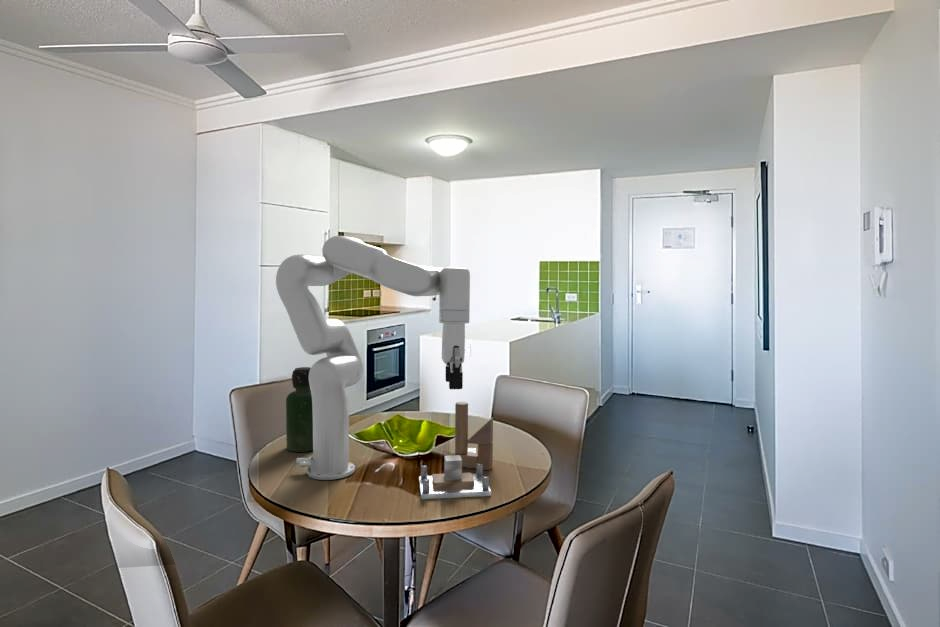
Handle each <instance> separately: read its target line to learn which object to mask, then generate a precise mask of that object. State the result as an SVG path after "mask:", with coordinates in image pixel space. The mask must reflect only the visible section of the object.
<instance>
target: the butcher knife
mask: <svg viewBox="0 0 940 627" xmlns="http://www.w3.org/2000/svg"><path fill="white" fill-rule="evenodd" d="M468 452H474V453H476V454H477V448H476V447H468Z"/></svg>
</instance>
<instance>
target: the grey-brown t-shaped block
mask: <svg viewBox="0 0 940 627" xmlns="http://www.w3.org/2000/svg"><path fill="white" fill-rule="evenodd" d="M443 460H444V462H443V463H444V464H443V465H444V468H443V471H444V473H432V474H431V476H432V480H433V486H434V489H441V488H463V487H474V479H473V477H472V474H473V473H472V472H463V471H462V470H463V467H462V459H461V457H460V455H454V456H453V455H444V459H443Z"/></svg>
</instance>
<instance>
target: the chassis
mask: <svg viewBox="0 0 940 627" xmlns="http://www.w3.org/2000/svg"><path fill="white" fill-rule="evenodd" d="M475 470H476V473H471V474H472V477H473V479H474V487H463V488H441V489H434V486H433V480H432V475H428V466H427V465H421V466H420V476H419V477H418V481H419V482H418V483H419V491H420V499H421V500H431V499H432V500H433V499H434V500H435V499H455V498H456V499H457V498H458V499H459V498H477V497H492V490H491V488H490V483H489V482H490V477H489V476H487V475H484V473H483V472H484V470H483V464H482V463H477V468H476V469H475Z"/></svg>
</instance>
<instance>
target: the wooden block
mask: <svg viewBox="0 0 940 627" xmlns="http://www.w3.org/2000/svg"><path fill="white" fill-rule="evenodd" d="M454 406H455V407H454V408H455V409H454V410H455V414H454V416H455V417H454V418H455V420H454V426H455V427H454V430H455V432H454V453H453V454H452V456H454V455H460V457H461V459H462V468H464V467H465V469H466V468H467V469H473V468H474V469H475V470H476V468H477V463H482V464H483V471H491V468H493V458H494V457H493V454H494V453H493V450H494V448H493V445H494V443H493V441H494V439H493V438H494V437H493V436H494V417H491V418H490V419H489V420H488V421H487V422H485V423H484V424H483V425H482V426H481V427H480V428H479V429H478V430H477V431H476V432H475V433H474V434H473V435H471V437H469V403H468V402H465V401H458V402H455V404H454ZM468 444H473V445H474V444H475V445H477V452H476V453H474V452H468V448H469V445H468Z"/></svg>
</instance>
